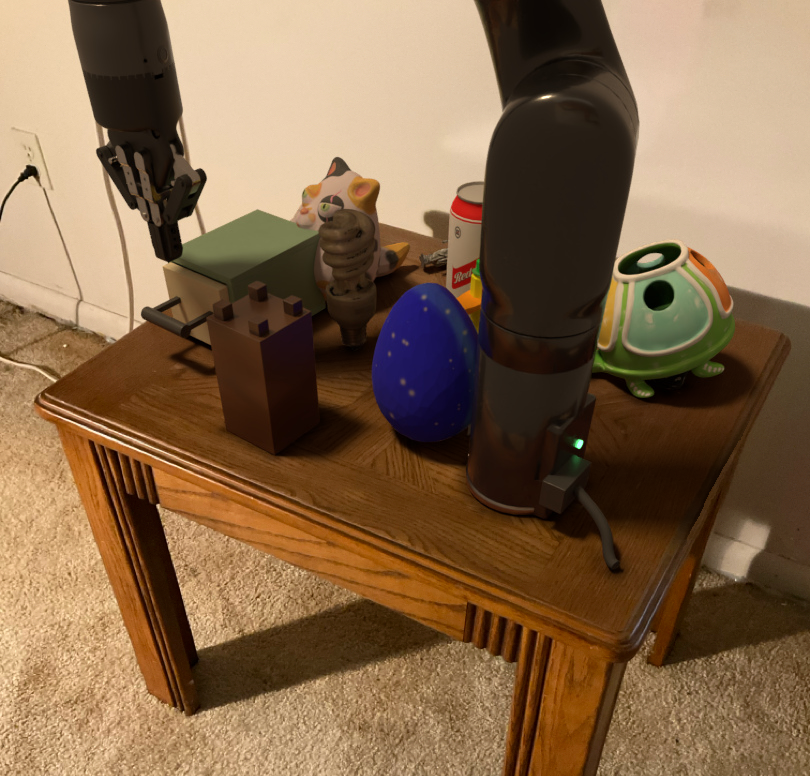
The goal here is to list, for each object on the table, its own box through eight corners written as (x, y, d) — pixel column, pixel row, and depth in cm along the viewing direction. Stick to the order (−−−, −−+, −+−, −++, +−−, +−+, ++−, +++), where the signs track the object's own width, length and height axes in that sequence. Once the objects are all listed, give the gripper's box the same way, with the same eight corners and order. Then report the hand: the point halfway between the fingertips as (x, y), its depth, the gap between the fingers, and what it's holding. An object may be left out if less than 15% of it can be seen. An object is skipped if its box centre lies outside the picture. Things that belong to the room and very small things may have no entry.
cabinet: (242, 358, 88) (230, 279, 81) (181, 329, 92) (165, 251, 85) (326, 308, 95) (321, 231, 89) (266, 283, 99) (257, 209, 93)
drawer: (196, 373, 84) (183, 309, 79) (141, 346, 87) (125, 283, 82) (308, 307, 94) (303, 245, 88) (255, 285, 97) (247, 225, 92)
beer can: (501, 352, 89) (517, 205, 78) (443, 351, 89) (451, 204, 78) (498, 322, 93) (512, 179, 82) (443, 321, 93) (449, 178, 82)
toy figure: (462, 391, 84) (470, 282, 75) (435, 378, 85) (440, 269, 77) (502, 365, 87) (514, 258, 79) (476, 352, 89) (485, 246, 80)
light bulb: (354, 368, 86) (349, 229, 76) (315, 350, 89) (305, 213, 78) (387, 345, 90) (386, 209, 79) (349, 329, 92) (343, 195, 81)
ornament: (499, 437, 78) (516, 293, 68) (428, 478, 74) (434, 330, 63) (422, 387, 84) (426, 247, 73) (352, 422, 80) (345, 278, 69)
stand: (320, 422, 80) (310, 298, 70) (274, 455, 76) (257, 329, 67) (272, 399, 82) (256, 276, 73) (226, 429, 79) (203, 304, 69)
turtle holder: (557, 361, 93) (528, 268, 85) (723, 309, 88) (707, 206, 80) (568, 426, 84) (536, 329, 77) (753, 373, 79) (739, 264, 71)
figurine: (250, 268, 96) (288, 137, 89) (359, 287, 108) (401, 173, 101) (304, 314, 90) (350, 177, 83) (414, 329, 102) (462, 210, 95)
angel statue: (473, 246, 106) (481, 275, 105) (414, 253, 104) (421, 282, 103) (480, 227, 102) (488, 257, 101) (418, 234, 100) (426, 264, 100)
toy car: (678, 394, 83) (683, 377, 82) (645, 385, 84) (649, 367, 83) (698, 357, 88) (703, 340, 87) (667, 348, 89) (671, 331, 88)
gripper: (40, 54, 69) (96, 253, 81) (143, 84, 63) (186, 292, 75) (113, 35, 73) (155, 227, 85) (215, 61, 67) (245, 262, 79)
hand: (170, 257), depth 80 cm, fingers closed
